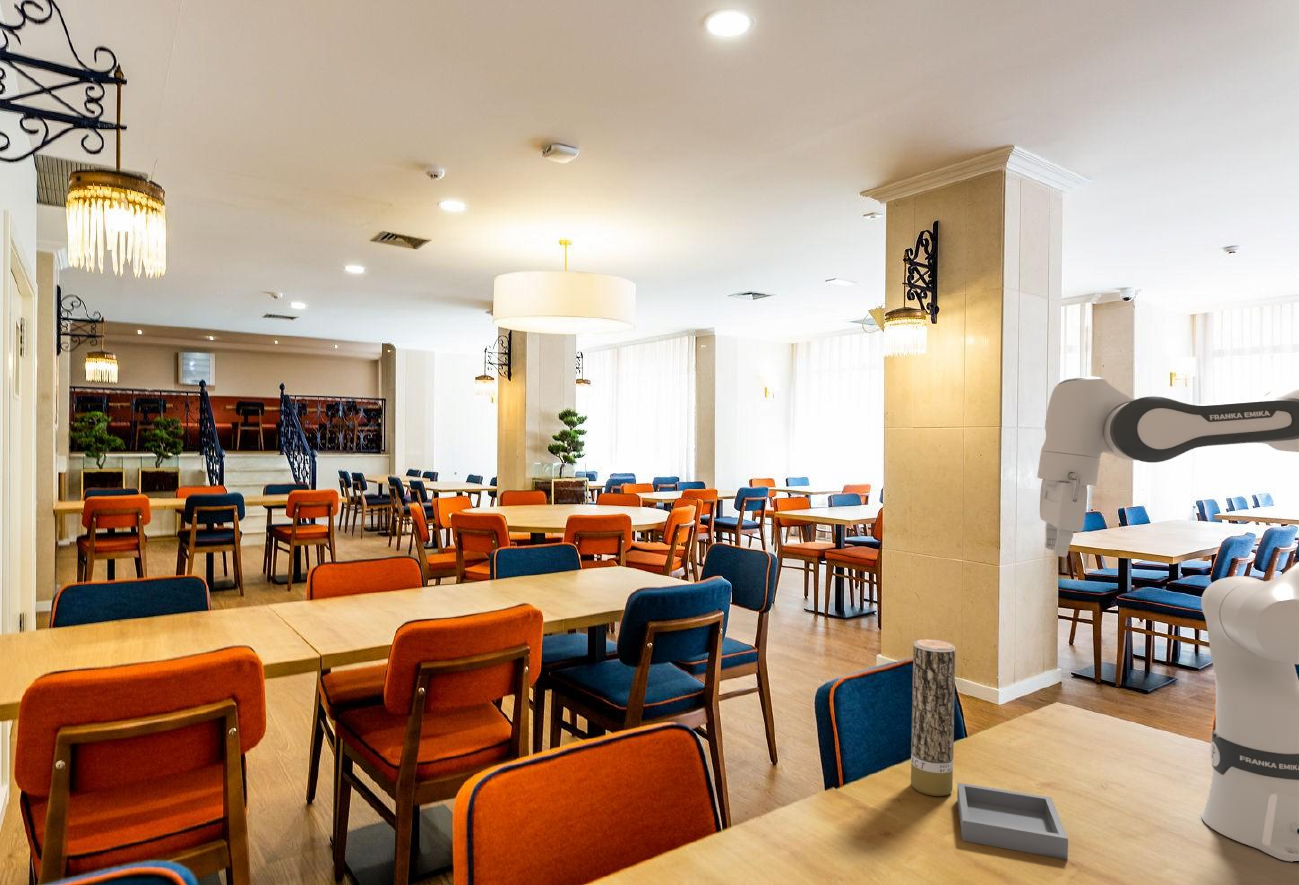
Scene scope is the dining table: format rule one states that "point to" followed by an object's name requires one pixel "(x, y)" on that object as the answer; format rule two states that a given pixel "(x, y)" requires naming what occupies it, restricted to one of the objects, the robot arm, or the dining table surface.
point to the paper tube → (933, 717)
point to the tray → (1011, 820)
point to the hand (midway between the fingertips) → (1055, 552)
